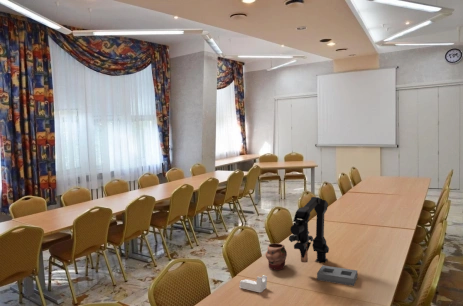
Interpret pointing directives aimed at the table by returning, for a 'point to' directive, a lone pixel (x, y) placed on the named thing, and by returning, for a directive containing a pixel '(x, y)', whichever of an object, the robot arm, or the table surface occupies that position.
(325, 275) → the hole board
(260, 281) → the bracket
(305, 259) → the pin
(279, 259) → the decorative planter
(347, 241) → the table surface
